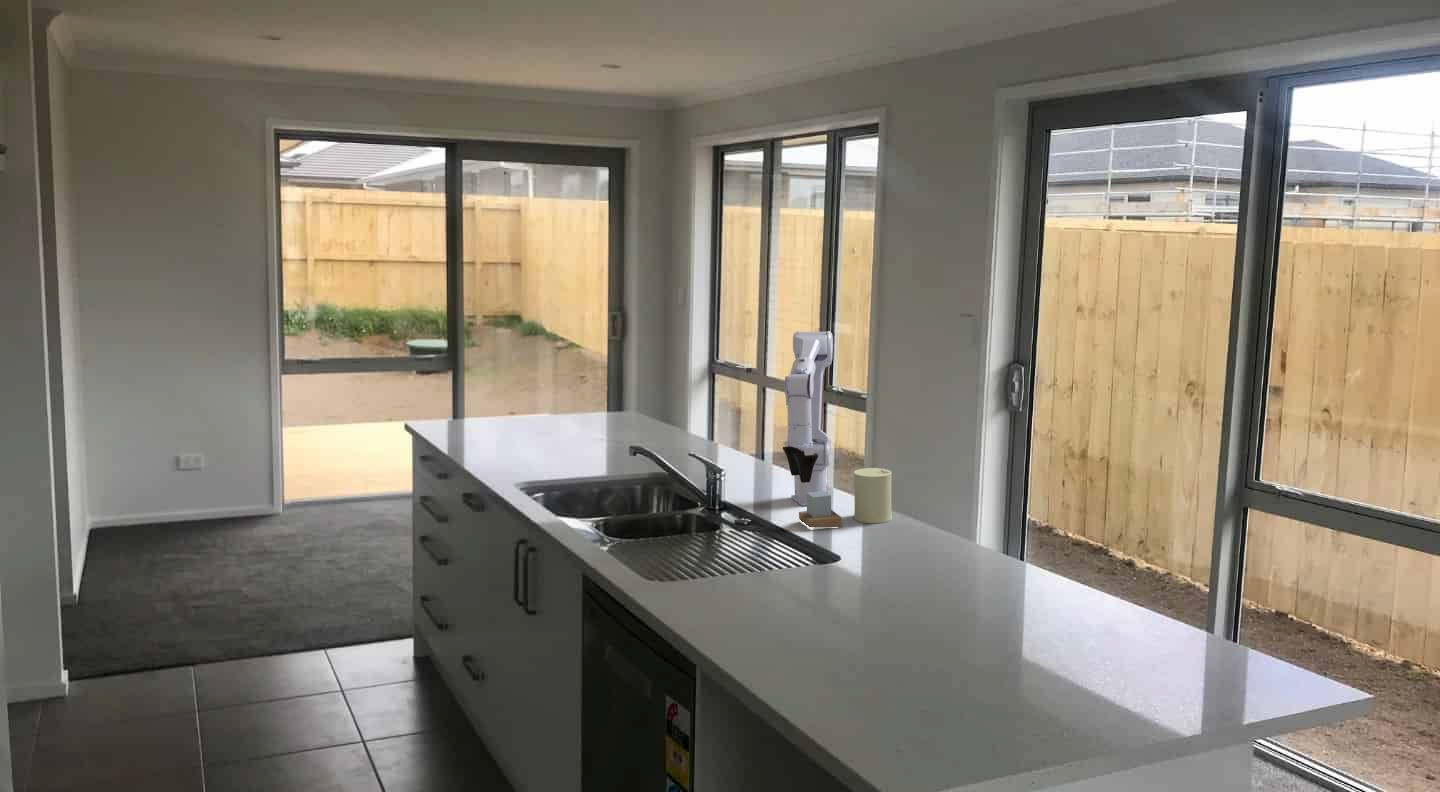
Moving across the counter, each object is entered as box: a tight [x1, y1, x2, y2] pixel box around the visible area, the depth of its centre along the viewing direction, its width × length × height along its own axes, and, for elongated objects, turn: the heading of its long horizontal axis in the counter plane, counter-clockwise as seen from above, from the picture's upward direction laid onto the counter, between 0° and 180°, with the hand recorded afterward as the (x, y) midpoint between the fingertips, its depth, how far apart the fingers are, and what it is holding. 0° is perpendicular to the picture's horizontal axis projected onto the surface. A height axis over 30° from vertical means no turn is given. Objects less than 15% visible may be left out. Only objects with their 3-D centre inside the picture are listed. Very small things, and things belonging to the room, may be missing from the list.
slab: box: [798, 509, 843, 528], centre depth 272 cm, size 8×8×3 cm
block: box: [806, 491, 832, 518], centre depth 272 cm, size 4×4×5 cm
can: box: [853, 467, 893, 524], centre depth 276 cm, size 9×9×12 cm
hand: (800, 478), depth 275 cm, fingers open, 7 cm apart
